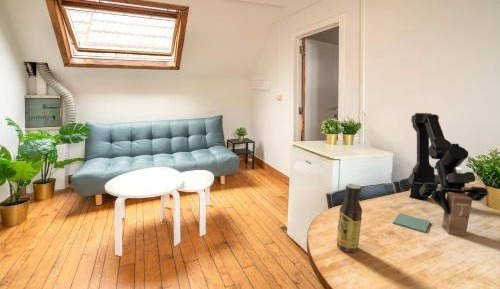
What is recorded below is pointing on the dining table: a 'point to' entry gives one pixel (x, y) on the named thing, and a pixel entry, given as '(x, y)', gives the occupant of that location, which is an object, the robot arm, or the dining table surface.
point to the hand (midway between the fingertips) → (458, 214)
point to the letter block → (457, 213)
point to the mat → (411, 222)
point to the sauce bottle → (350, 220)
